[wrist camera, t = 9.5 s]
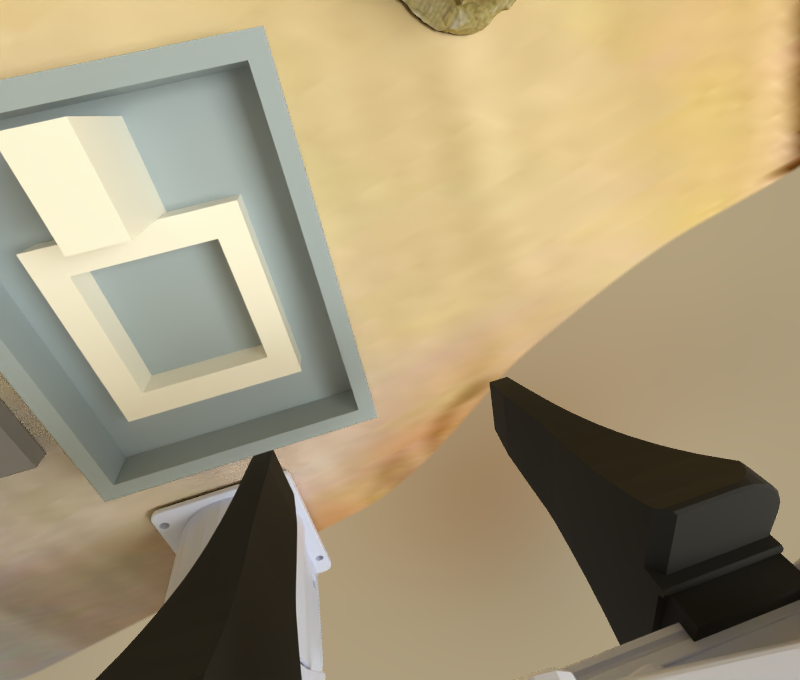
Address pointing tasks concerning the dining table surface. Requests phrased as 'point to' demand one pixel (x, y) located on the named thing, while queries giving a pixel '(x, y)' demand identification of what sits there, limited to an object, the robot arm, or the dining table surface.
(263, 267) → the square frame with tab
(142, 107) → the tray
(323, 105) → the dining table surface
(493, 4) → the ceramic model
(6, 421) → the plate
